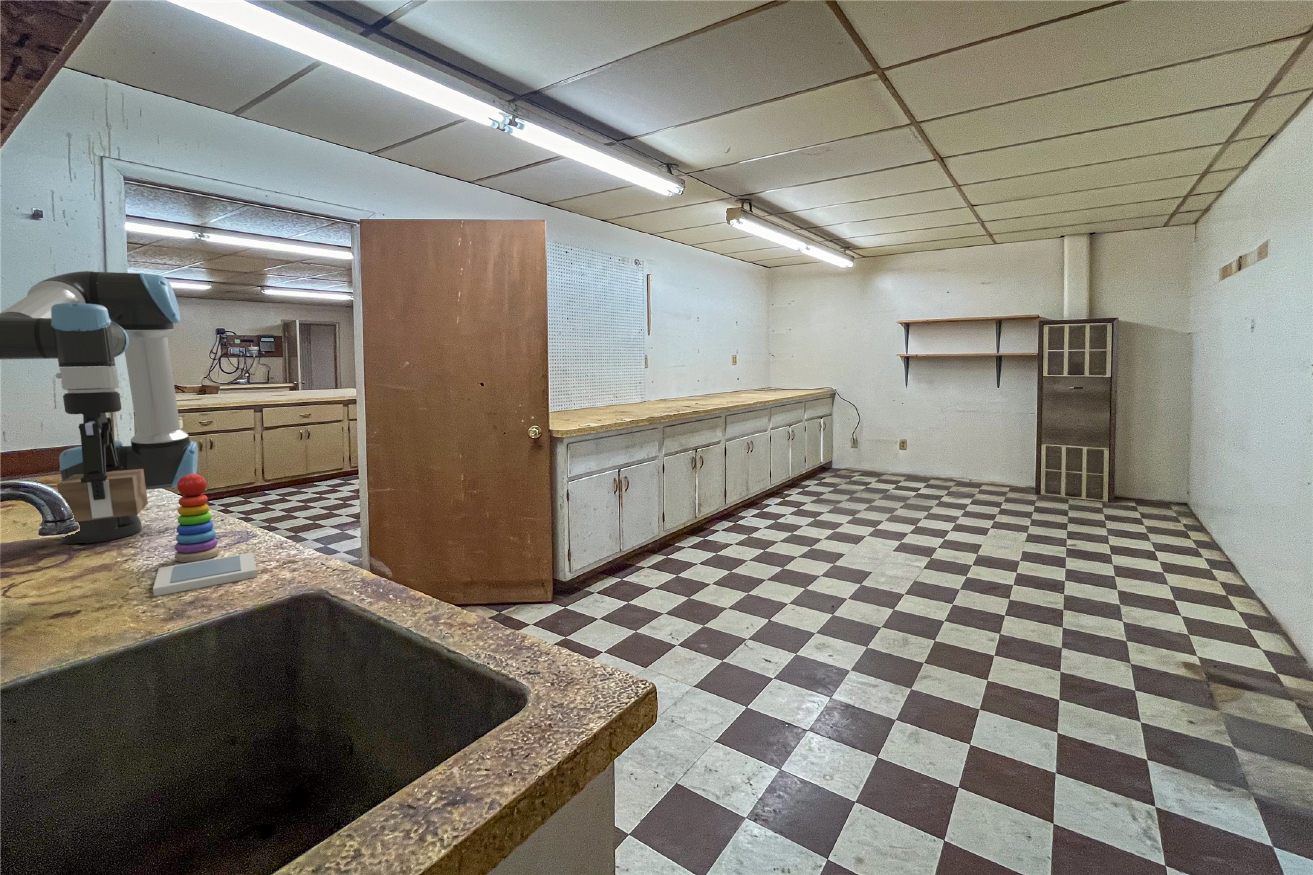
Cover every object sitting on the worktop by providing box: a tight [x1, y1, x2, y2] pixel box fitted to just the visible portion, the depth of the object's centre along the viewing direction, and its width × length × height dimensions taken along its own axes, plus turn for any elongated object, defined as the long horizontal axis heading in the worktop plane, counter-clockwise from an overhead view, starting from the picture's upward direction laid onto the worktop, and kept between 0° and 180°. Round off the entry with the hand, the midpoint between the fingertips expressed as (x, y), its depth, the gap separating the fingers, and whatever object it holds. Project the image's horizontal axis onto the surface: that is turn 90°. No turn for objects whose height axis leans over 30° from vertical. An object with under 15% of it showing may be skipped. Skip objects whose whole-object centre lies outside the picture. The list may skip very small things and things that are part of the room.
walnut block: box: [56, 469, 149, 522], centre depth 111 cm, size 10×10×7 cm
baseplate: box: [152, 551, 258, 597], centre depth 121 cm, size 14×16×2 cm
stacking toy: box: [174, 473, 221, 563], centre depth 132 cm, size 8×8×19 cm
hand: (108, 510), depth 112 cm, fingers closed on walnut block, 10 cm apart
